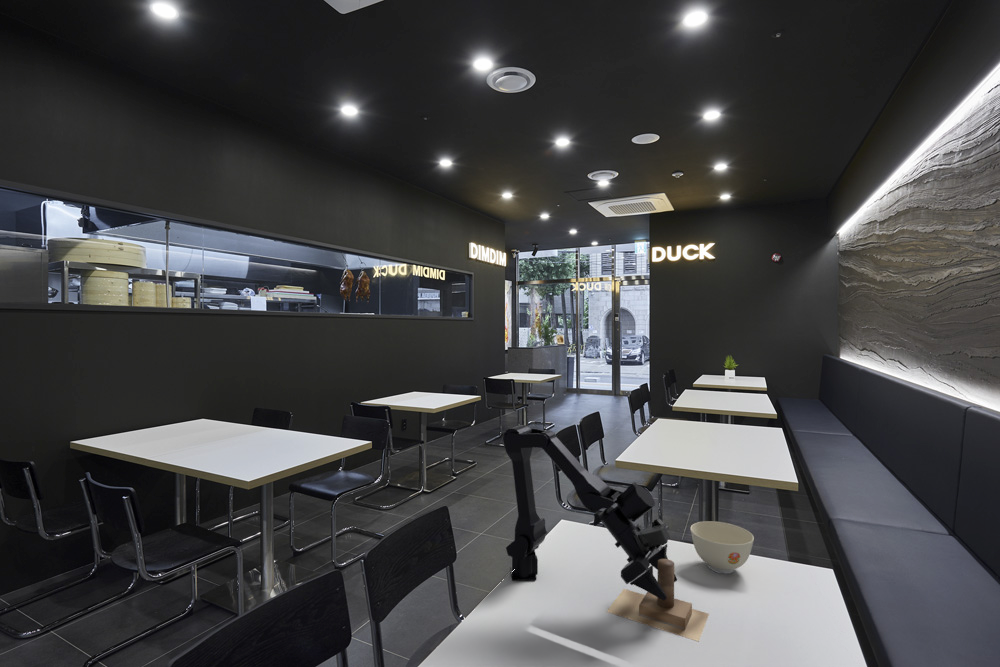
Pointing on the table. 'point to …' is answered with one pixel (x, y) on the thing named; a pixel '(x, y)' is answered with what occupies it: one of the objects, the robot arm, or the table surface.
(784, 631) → the table surface
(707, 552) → the bowl
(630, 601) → the oak board
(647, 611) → the block
